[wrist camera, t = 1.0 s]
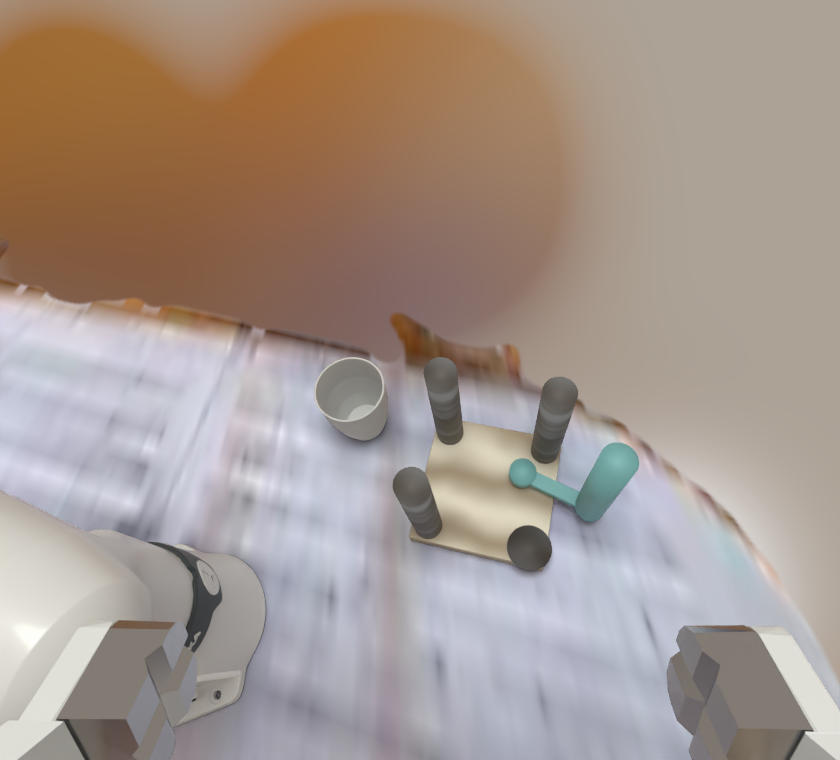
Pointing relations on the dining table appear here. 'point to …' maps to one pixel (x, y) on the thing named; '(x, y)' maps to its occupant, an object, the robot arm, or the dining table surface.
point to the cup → (353, 397)
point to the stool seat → (485, 477)
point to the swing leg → (597, 490)
